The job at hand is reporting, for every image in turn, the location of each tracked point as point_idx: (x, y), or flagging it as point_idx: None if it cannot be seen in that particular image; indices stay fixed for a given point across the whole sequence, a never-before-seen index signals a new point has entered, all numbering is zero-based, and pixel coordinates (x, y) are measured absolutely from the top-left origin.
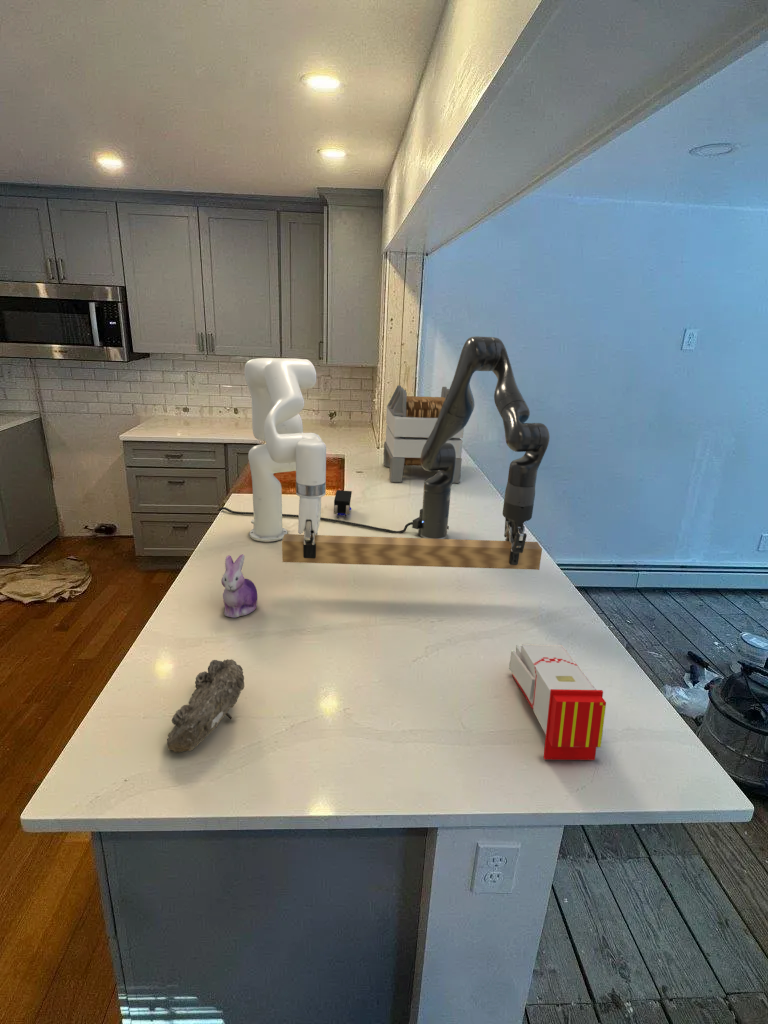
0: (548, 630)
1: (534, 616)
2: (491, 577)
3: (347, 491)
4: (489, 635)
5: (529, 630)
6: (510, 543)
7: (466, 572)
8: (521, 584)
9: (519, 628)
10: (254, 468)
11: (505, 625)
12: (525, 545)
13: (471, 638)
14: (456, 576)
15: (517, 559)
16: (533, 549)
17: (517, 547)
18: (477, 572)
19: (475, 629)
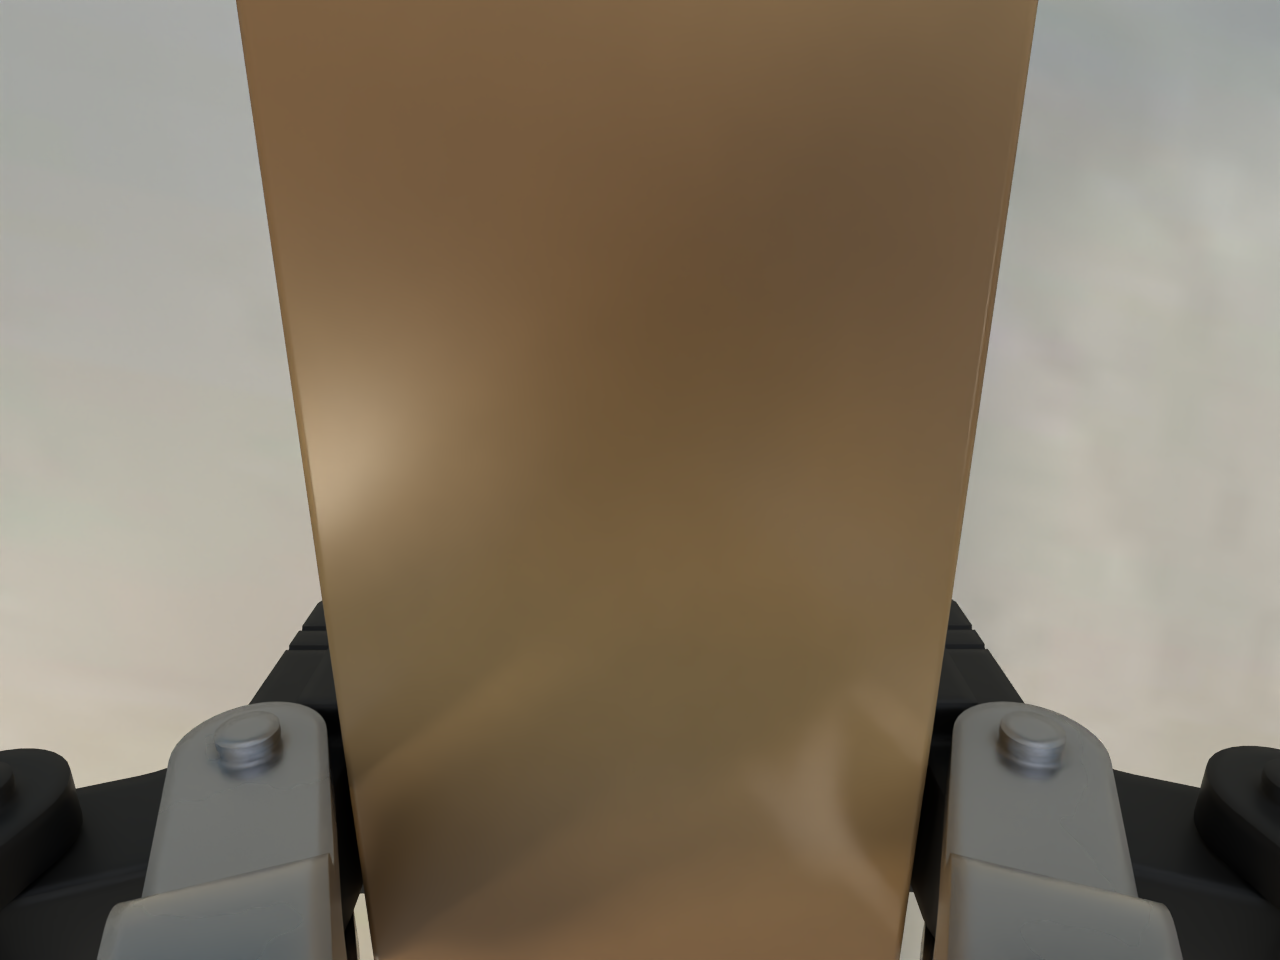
0: (1256, 39)
1: None
2: (86, 407)
3: None
4: (1235, 628)
5: (1219, 256)
6: (564, 914)
7: (43, 637)
8: (178, 77)
9: (1167, 348)
10: None
11: (1096, 467)
12: (693, 524)
13: None
14: (165, 734)
15: (978, 643)
16: (994, 294)
17: (860, 794)
18: (5, 532)
19: (1126, 714)
